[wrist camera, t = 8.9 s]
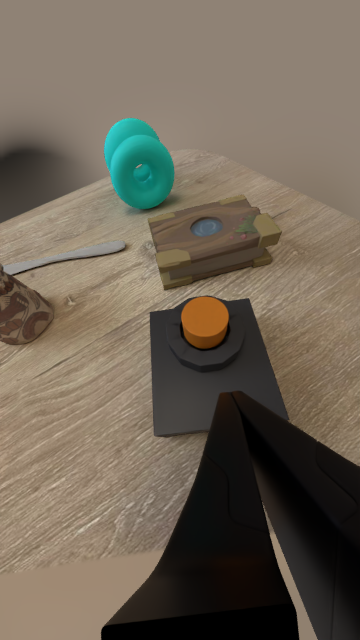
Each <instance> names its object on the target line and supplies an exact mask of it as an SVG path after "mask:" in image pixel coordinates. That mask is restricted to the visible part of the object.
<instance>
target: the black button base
mask: <svg viewBox="0 0 360 640" xmlns="http://www.w3.org/2000/svg"><path fill="white" fill-rule="evenodd" d="M200 297H212V296H200ZM195 298H198V297H193V298H189V299H187V300H186V301H184V302H183V303H181V304H180V305H178V306H177V307H175V308H174V309H169V310H162V311H154V312H150V337H151V365H152V393H153V422H154V436H157V437H169V436H177V435H185V434H194V433H202V432H209V430H210V426H211V423H212V419H213V415H214V412H215V408H216V404H217V401H218V397H219V394H220V393H223V392H230V393H231V392H232V391H239V390H240V391H243V392H244V393H246V394H247V395H249V396H250V397H252V398H253V399H255V400H256V401H258V402H259V403H261V404H262V405H264V406H265V407H267V408H268V409H270V410H272V411H273V412H275V413H276V414H278V415H279V416H281V417H282V418H284V419H285V420H289V417H288V414H287V411H286V408H285V405H284V402H283V399H282V396H281V393H280V390H279V387H278V384H277V381H276V378H275V375H274V372H273V369H272V366H271V363H270V360H269V357H268V354H267V351H266V348H265V345H264V342H263V339H262V336H261V333H260V330H259V327H258V324H257V321H256V318H255V315H254V312H253V309H252V306H251V303H250V300H249V298H247V299H240V300H233V301H226V300H222V299H219V298H216V297H212V298H215V299H217V300H219V301H221V302H222V303H223V304H224V305H225V307H226V308H227V310H228V314H229V321H228V325H227V330H226V335H225V337H224V339H223V341H222V342H221V343H220V344H219V345H217V346H215V347H213V348H209V349H202V348H197V347H195V346H193V345H192V344H190V343H189V342H188V341H187V339H186V338H185V335H184V331H183V325H182V320H181V314H182V311H183V309H184V307H185V306H186V304H187V303H188V302H190V301H191V300H193V299H195Z"/></svg>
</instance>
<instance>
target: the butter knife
mask: <svg viewBox="0 0 360 640" xmlns="http://www.w3.org/2000/svg"><path fill="white" fill-rule="evenodd" d="M123 248H125V242H124V241H113V242H107V243H102V244H98V245H93V246H89V247H85V248H82V249H78V250H74V251H71V252H67V253H62V254H58V255H54V256H50V257H45V258H41V259H36V260H31V261H25V262H20V263H14V264H9V265H4V266H3V267H4V269H3V271H4V272H6V273H8V274H9V275H12V274H15V273H18V272H21V271H24V270H27V269H30V268H33V267H37V266H40V265H44V264H47V263H51V262H55V261H61V260H66V259H72V258H81V257H89V256H95V255H101V254H107V253H112V252H116V251H119V250H121V249H123Z"/></svg>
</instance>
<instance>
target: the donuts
mask: <svg viewBox="0 0 360 640" xmlns="http://www.w3.org/2000/svg"><path fill="white" fill-rule="evenodd" d="M104 155H105V161H106V164H107V167H108V169H109V171H110V175H111V181H112V184H113V187H114V189H115V191H116V193H117V194H118V196H119V197H120V198H121V199H122V200H123V201H124V202H125V203H127V204H128V205H130V206H132V207H135V208H139V209H149V208H153V207H155V206H157V205H159V204H160V203H162V202H163V201H164V200H165V199H166V197H167V196H168V195H169V193H170V191H171V189H172V186H173V182H174V165H173V161H172V158H171V156H170V154H169V152H168V150H167V149H166V148H165V146H164V145H163V144H162V143H161V142H160V140H159V138H158V136H157V134H156V133H155V131H154V130H153V129H152V128H151V127H150V126H149V125H148V124H147V123H145V122H144V121H141V120H139V119H135V118H127V119H123V120H121V121H119V122H117V123H116V124H115V125H114V126H113V127H112V128H111V129H110V131H109V133H108V135H107V137H106V140H105V146H104ZM140 164H142V165H141V166H140V167H138V168H136V167H137V166H138V165H140Z"/></svg>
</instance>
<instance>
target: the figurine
mask: <svg viewBox="0 0 360 640" xmlns="http://www.w3.org/2000/svg"><path fill="white" fill-rule="evenodd" d="M3 269H4V267H3V265H2V264H0V341H2V342H4V343H7V344H24V343H27V342H30V341H32V340H34V339H35V338H36V337H37V336H38V335H39V334H40V333H42V332H43V330H44V329H45V328H46V326H47V325H48V324H49V323H50V322H51V321H52V319H53V316H54V315H53V310H54V309H53V306H52V305H51V304H50V303H49V302H48V301H46V300H45V299H44V298H43V297H42V296H41V295H40V294H39V293H38V292H37V291H35V290H32V289H30V288H28V287H27V286H26V285H24V284H23V283H21V282H20V281H18V280H17V279H15V278H14V277H13V276H11V275H9V274H8V273H6V272H4V271H3Z"/></svg>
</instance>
